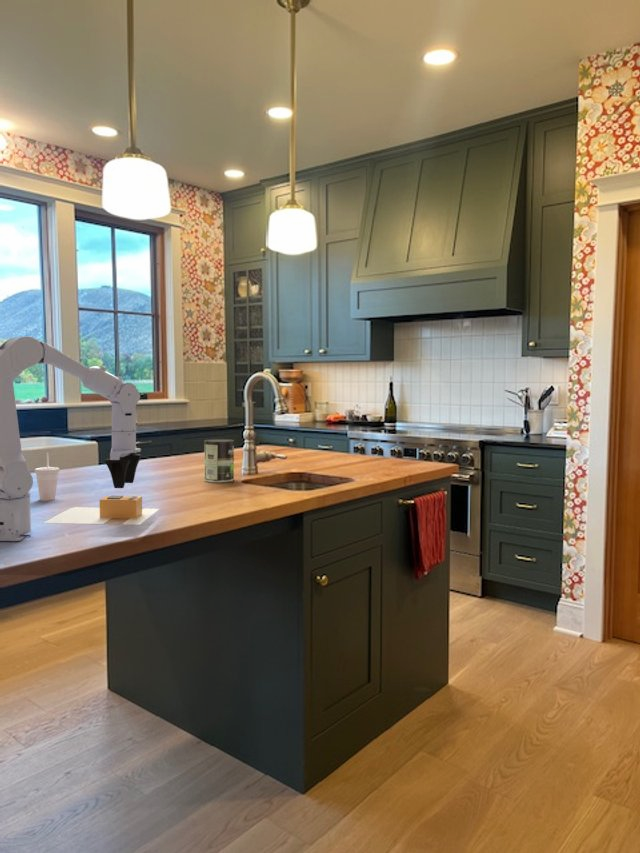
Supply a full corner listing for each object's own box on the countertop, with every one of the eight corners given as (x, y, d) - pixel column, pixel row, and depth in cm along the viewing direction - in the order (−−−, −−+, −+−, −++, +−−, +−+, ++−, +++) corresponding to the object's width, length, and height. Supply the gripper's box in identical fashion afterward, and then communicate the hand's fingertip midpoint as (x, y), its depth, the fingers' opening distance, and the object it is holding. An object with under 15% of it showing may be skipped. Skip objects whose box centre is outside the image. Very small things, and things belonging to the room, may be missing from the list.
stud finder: (136, 518, 154) (136, 499, 154) (99, 517, 154) (99, 498, 154) (142, 513, 159) (142, 495, 159) (106, 513, 159) (106, 494, 159)
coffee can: (236, 478, 224) (236, 439, 223) (231, 483, 213) (231, 441, 212) (207, 477, 224) (207, 438, 223) (201, 482, 214) (201, 441, 213)
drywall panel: (139, 528, 148) (139, 524, 148) (42, 527, 148) (42, 522, 148) (159, 512, 166) (159, 508, 166) (72, 510, 166) (72, 507, 166)
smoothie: (63, 500, 179) (62, 451, 178) (54, 505, 173) (54, 454, 172) (40, 500, 179) (40, 451, 178) (31, 504, 173) (30, 454, 172)
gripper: (131, 433, 148) (131, 490, 149) (148, 428, 162) (148, 480, 163) (101, 433, 148) (101, 490, 149) (120, 428, 162) (121, 480, 163)
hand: (124, 485), depth 156 cm, fingers open, 7 cm apart
